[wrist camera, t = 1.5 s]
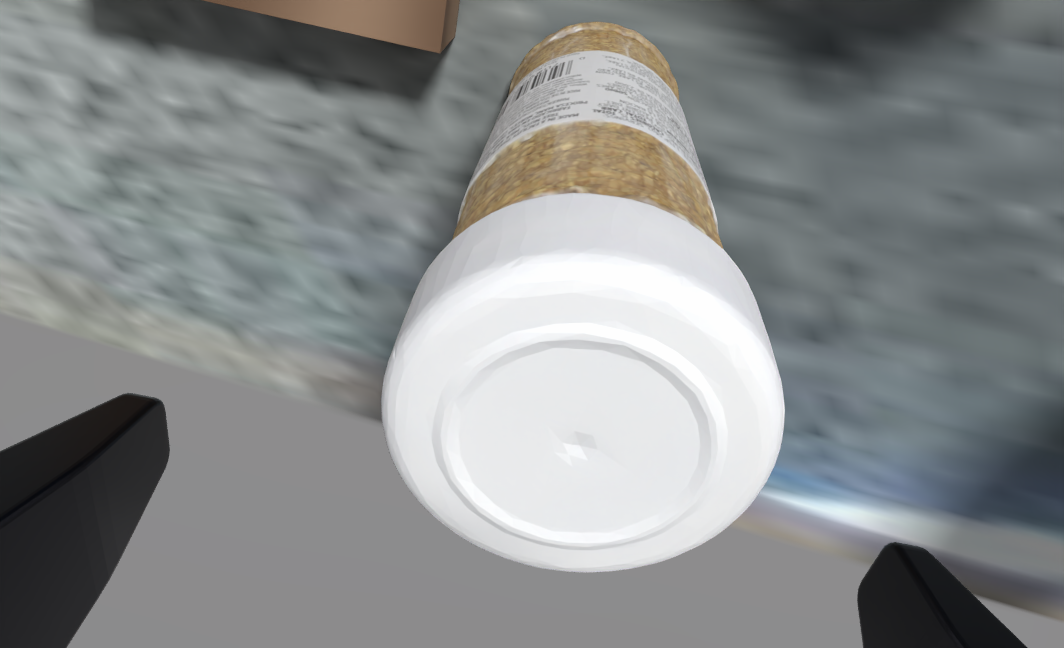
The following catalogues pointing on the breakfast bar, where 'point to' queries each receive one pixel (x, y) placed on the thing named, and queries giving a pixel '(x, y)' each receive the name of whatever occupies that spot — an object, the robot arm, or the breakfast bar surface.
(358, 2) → the wooden block
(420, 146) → the breakfast bar surface
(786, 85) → the breakfast bar surface
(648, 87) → the sprinkles bottle
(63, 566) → the robot arm
